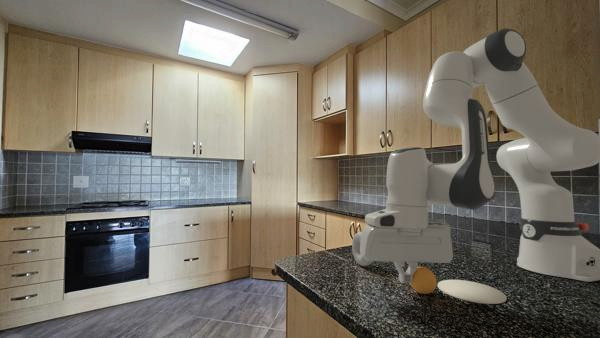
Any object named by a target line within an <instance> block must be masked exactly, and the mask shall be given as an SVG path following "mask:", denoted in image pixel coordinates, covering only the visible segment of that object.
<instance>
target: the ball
mask: <svg viewBox="0 0 600 338" xmlns="http://www.w3.org/2000/svg"><path fill="white" fill-rule="evenodd" d="M409 285H410V287H411V288H412V289H413V290H414V291H415V292H417V293H419V294H421V295H427V294H432V293H433V292H434V291H435V289H436V288H437V286H438V282H437V278H436V275H435V274H434V272H433V271H432V269H431V270H430V269H429V268H427V267H425V266H418V268H417V269H416V271H415V273H414V274H413V282H412V283H409Z"/></svg>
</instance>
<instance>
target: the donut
mask: <svg viewBox="0 0 600 338" xmlns="http://www.w3.org/2000/svg"><path fill="white" fill-rule="evenodd" d="M361 234H362V231H358V232H357V233H355V235H354V236H353V237H352V242H351V243H352V244H351V246H352V247H351V249H352V250H351V251H352V255H353V258H354V260H355V262H356V263H357V264H358V265H359V266H360V267H364V268H365V267H368V266H370V265H371V264H372V263H373V261H367V260H366V259H364V258H363V257H362V255H361V254H360V241H361Z"/></svg>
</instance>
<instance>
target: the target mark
mask: <svg viewBox="0 0 600 338" xmlns="http://www.w3.org/2000/svg"><path fill="white" fill-rule="evenodd" d="M437 288H438V290H440V291H441V292H442V293H445V294H446V295H448V296H450V297H453V298H456V299H458V300H461V301H465V302H466V301H467V302H471V303H477V304H484V305H485V304H486V305H495V304H499V305H500V304H502V303H505V302H506V301H507V300H508V299H507V295H506V294H505V293H504V292H502V291H501V290H500V289H497V288H495V287H493V286H489V285H487V284H483V283H479V282H475V281H470V280H465V279H463V280H462V279H444V280H440V281H438V282H437Z"/></svg>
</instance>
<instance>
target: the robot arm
mask: <svg viewBox="0 0 600 338" xmlns="http://www.w3.org/2000/svg"><path fill="white" fill-rule="evenodd" d="M526 54H527V44H526V41H525V40H524V37H523V36H522V34H521V33H520V32H519V31H517V30H515V29H512V28H509V27H508V28H507V27H505V28H501V29H498V30H497V31H494V32H492V33H489V35H487V36H486V37H484V38H482V39H480V40H479V41H477V42H475V43H473V44H471V45H469V47H467V48H465V49H464V51H456V50H455V51H454V50H453V51H449V52H446V53H443V54H441V55H440V56H439V57H438V58H437V59H436V60H435V61H434V63H433V66H432V67H431V70H430V72H429V74H428V77H427V81H426V85H425V89H424V94H423V97H422V98H423V99H422V109H423V112H424V113H425V115H426V116H427V117H428V118H429V119H430V120H431V121H433V122H435V123H437V124H440V125H442V126H445V127H446V126H447V127H455V128H458V129H460V130H461V153H462V155H461V156H462V158H461V159H460V160H459V161H457V162H455V163H443V164H434V163H433V162H432V161H430V160H429V159H428V157H427V153H426V150H425V148H424V147H420V146H416V147H414V146H413V147H407V148H399V149H395V150H393V151H391V153H390V154H389V157H388V161H387V164H386V166H387V167H386V168H387V169H386V183H385V184H386V189H387V198H386V201H385V208H384V209H381V210H377V211H374V212H369V213H367V214H366V215H364V222H365V223H366V225H365V226H363V228H362V231H361V232H362V234H361V241H360V254H361V255H362V257H363V258H364V259H366V260H367V261H372V262H393V265H394V267H395V268H396V271H397V272H398V281H399V282H400V283H409V284H410V283H412V282H413V274H414V273H415V271H416V269H417V268H418V267H419V263H442V264H443V263H451V261H452V260H453V258H454V252H453V243H452V238H451V226H450V224H449V223H448V222H447V221H445V220H443V219H431V218H429V205H434V206H447V207H448V206H449V207H456V208H461V209H468V210H472V211H474V210H475V211H476V210H478V209H480V208H482V207H483V206H485V205H486V204H488V203H489V202H490V201H491V200H492V199H493V197H494V195H495V189H496V187H495V179H494V175H493V171H492V166H491V159H490V147H489V145H490V144H489V135H488V125H487V117H486V113H485V109H484V108H483V105H482V104H481V102H480V101H479V100H478V99H474V98H473V96H472V95H473V89H475V88H477V87H480V86H482V85H484V86H485V91H486V92H487V96H488V98H489V101H490V103H491V106H492V107H493V109H494V111H495V114H496V115H497V117H498V118H499V121H500V123H501V124H502V126H503V127H505V128H506V129H509V130H512V131H515V132H517V133H519V134H520V135H522V136H523V137H522V138H516V139H514V140H511V141H509V142H507V143H504V144H502V145H501V146H500V147H499V148H497V151H496V161H497V164H498V166H499V167H500V168H501V169H502V170H504V171H505V172H506V173H508V175H509V176H510V177H511V179H512V180H513V181H514V183H515V185H516V187H517V191H518V193H519V200H520V211H521V217H520V218H519V230H521V235H520V238H519V239H520V240H519V249H518V251H519V252H518V257H516V261H517V262H516V266H518V267H519V268H522V269H523V270H527V271H530V272H534V273H537V274H542V275H547V276H553V277H559V278H567V279H571V280H577V281H582V282H589V283H590V282H596V281H600V248H599V247H597V246H596V245H595V244H593V243H592V242H590V241H589V240H588V239H586V238H585V237H584V236H583V235H582V231H584V232H587V231H589V230H590V225H589V223H587V222H586V223H585V222H583V223H582V222H576V220H575V212H574V211H575V210H574V209H575V208H574V197H573V193H571V191H570V190H568V189H567V188H565V187H563V186H561V185H559V184H558V183H556V181H555V180H554V179H553V176H552V174H551V172H569V171H576V170H580V169H581V170H582V169H586V168H590V167H593V166H595V165H597V164H598V163H599V162H600V135H599V134H598V133H596V132H595V131H593V130H590V129H586V128H583V127H579V126H577V125H574V124H572V123H570V122H569V121H567V120H566V119H564V118H563V117H562V116H560V115H559V114H558V113H557V112H556V111H554V109H553V108H552V107H551V105H550V104H549V102H548V100H547V99H546V97H545V96H544V94H543V92H542V90H541V88H540V86H539V84H538V82H537V80H536V78H535V77H534V74H532V72H531V70H530V69H529V68H528V66H527V65H526V64H525V63H524V60H525V57H526ZM405 263H406V264H407V265H408V267H407V269H406V270H405V269H404V268H403V267H405ZM404 270H405V271H404Z"/></svg>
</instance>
